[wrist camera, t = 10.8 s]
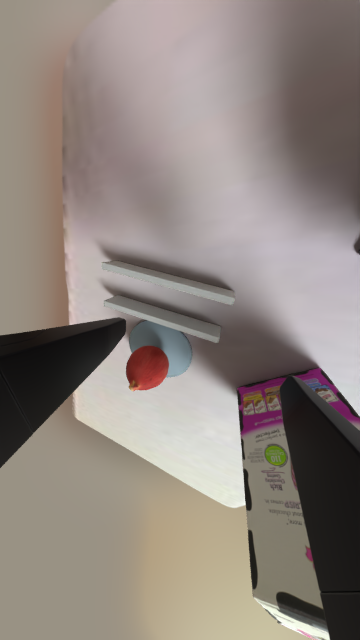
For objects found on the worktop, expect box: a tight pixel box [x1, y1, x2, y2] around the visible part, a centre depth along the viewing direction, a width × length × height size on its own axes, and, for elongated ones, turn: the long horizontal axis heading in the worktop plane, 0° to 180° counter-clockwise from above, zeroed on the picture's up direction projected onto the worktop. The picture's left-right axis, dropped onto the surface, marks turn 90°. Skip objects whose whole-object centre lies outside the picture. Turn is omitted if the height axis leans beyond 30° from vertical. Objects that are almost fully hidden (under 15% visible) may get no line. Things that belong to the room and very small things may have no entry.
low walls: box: [101, 261, 235, 343], centre depth 19 cm, size 16×6×3 cm, turn 79°
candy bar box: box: [237, 368, 360, 640], centre depth 14 cm, size 11×5×16 cm, turn 127°
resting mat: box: [129, 320, 192, 377], centre depth 25 cm, size 11×11×1 cm
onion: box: [126, 346, 169, 391], centre depth 21 cm, size 6×6×8 cm
